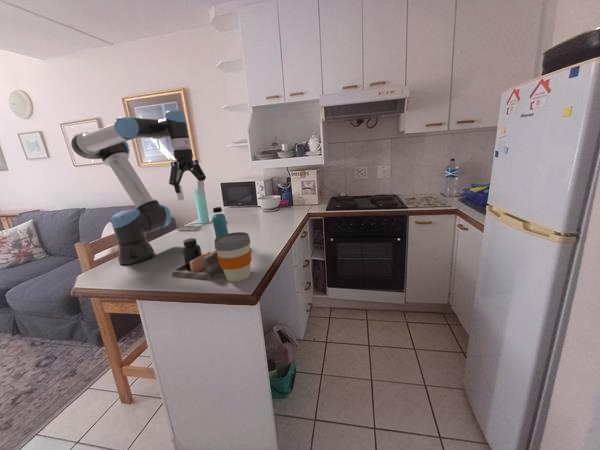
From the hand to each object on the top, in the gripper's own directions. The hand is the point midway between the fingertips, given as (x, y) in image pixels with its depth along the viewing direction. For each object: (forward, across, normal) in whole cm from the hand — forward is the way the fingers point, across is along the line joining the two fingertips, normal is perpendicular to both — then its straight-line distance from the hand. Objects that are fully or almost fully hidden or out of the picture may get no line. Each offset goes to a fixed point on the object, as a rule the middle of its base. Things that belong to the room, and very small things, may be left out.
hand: (192, 197), depth 121 cm
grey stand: (+27, -18, -15) cm, 36 cm away
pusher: (+26, -18, -15) cm, 35 cm away
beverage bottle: (+27, +8, -6) cm, 29 cm away
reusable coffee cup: (+27, -20, -33) cm, 47 cm away
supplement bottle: (+26, -18, -11) cm, 34 cm away
